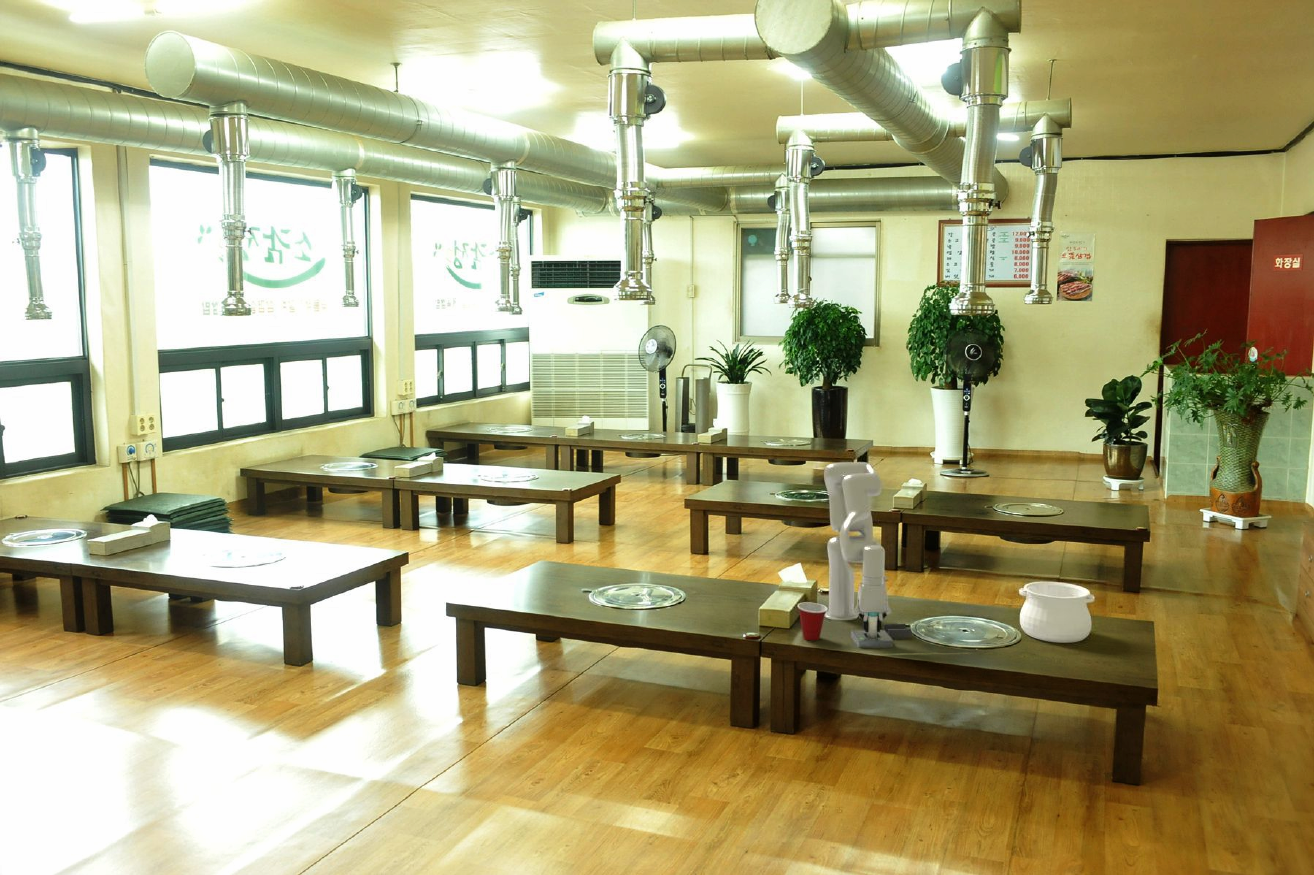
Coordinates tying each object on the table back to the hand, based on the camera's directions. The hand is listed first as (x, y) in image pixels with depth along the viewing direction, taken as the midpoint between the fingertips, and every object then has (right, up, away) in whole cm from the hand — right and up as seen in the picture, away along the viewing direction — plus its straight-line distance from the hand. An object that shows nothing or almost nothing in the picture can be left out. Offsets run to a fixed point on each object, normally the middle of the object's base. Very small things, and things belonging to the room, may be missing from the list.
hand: (872, 630), depth 370 cm
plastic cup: (-20, -4, +7) cm, 22 cm away
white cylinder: (0, -3, 0) cm, 3 cm away
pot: (+69, -4, +11) cm, 70 cm away
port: (0, -5, 0) cm, 5 cm away
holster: (+11, -4, +9) cm, 14 cm away
